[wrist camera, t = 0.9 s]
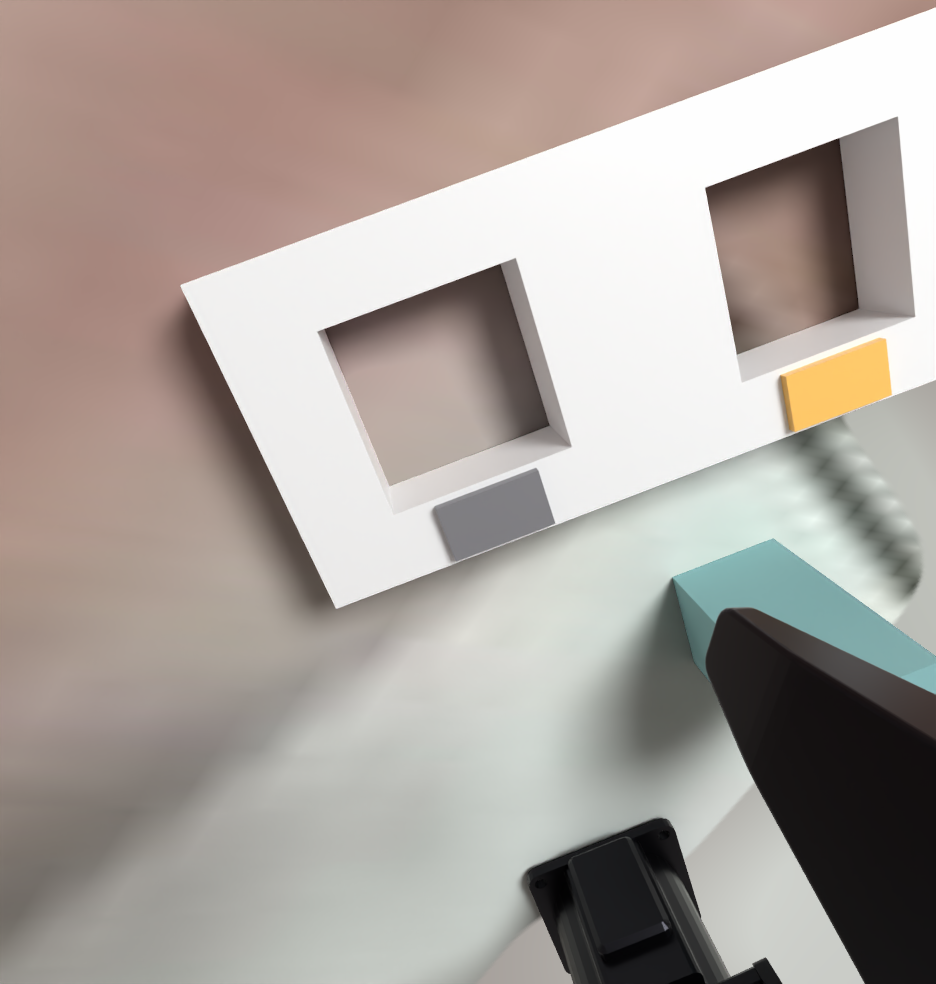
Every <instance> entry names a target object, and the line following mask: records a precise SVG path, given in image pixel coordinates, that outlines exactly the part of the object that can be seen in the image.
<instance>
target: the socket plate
mask: <svg viewBox="0 0 936 984" xmlns="http://www.w3.org/2000/svg"><path fill="white" fill-rule="evenodd" d="M838 138H839V140H840V148H841V157H842V166H843V174H844V183H845V191H846V200H847V208H848V217H849V225H850V234H851V242H852V251H853V260H854V268H855V277H856V285H857V294H858V302H859V309H857V310H854V311H852V312H849V313H846V314H844V315H841V316H839V317H836V318H833V319H831V320H828V321H825V322H823V323H820V324H817V325H815V326H812V327H809V328H807V329H804V330H802V331H799V332H796V333H794V334H791V335H788V336H786V337H783V338H780V339H778V340H775V341H772V342H770V343H767V344H765V345H762V346H759V347H757V348H754V349H751V350H749V351H746V352H743V353H741V354H738V355H736V349H735V344H734V339H733V334H732V328H731V323H730V318H729V312H728V307H727V302H726V296H725V291H724V286H723V281H722V275H721V270H720V265H719V259H718V254H717V249H716V243H715V238H714V233H713V228H712V222H711V217H710V212H709V206H708V201H707V196H706V191H705V187H708V186H711V185H714V184H716V183H719V182H722V181H724V180H727V179H730V178H732V177H735V176H738V175H741V174H743V173H746V172H749V171H751V170H754V169H757V168H759V167H762V166H765V165H767V164H770V163H773V162H776V161H778V160H781V159H784V158H786V157H789V156H792V155H794V154H797V153H800V152H803V151H805V150H808V149H811V148H813V147H816V146H819V145H821V144H824V143H827V142H829V141H832V140H835V139H838ZM498 264H501V268H502V271H503V274H504V278H505V281H506V284H507V287H508V291H509V294H510V297H511V300H512V304H513V307H514V310H515V314H516V317H517V320H518V323H519V327H520V330H521V333H522V336H523V340H524V343H525V346H526V350H527V353H528V356H529V359H530V363H531V366H532V369H533V372H534V376H535V379H536V382H537V386H538V389H539V392H540V395H541V399H542V402H543V405H544V408H545V412H546V415H547V418H548V422H549V425H550V426H548V427H545V428H542V429H540V430H537V431H534V432H532V433H529V434H527V435H524V436H521V437H519V438H516V439H513V440H511V441H508V442H505V443H503V444H500V445H497V446H495V447H492V448H489V449H487V450H484V451H482V452H479V453H476V454H474V455H471V456H468V457H466V458H463V459H460V460H458V461H455V462H452V463H450V464H447V465H445V466H442V467H439V468H437V469H434V470H431V471H429V472H426V473H423V474H421V475H418V476H415V477H413V478H410V479H408V480H405V481H402V482H400V483H397V484H394V485H392V486H389V485H388V482H387V480H386V477H385V475H384V472H383V470H382V468H381V465H380V463H379V460H378V458H377V456H376V453H375V451H374V448H373V446H372V444H371V441H370V439H369V436H368V434H367V431H366V429H365V427H364V424H363V422H362V419H361V417H360V415H359V412H358V410H357V407H356V405H355V402H354V400H353V398H352V395H351V393H350V390H349V388H348V386H347V383H346V381H345V378H344V376H343V373H342V371H341V369H340V366H339V364H338V361H337V359H336V357H335V354H334V352H333V349H332V347H331V344H330V342H329V340H328V337H327V335H326V332H325V330H324V329H325V328H328V327H331V326H334V325H336V324H339V323H342V322H344V321H347V320H350V319H352V318H355V317H358V316H360V315H363V314H366V313H369V312H371V311H374V310H377V309H379V308H382V307H385V306H387V305H390V304H393V303H396V302H398V301H401V300H404V299H406V298H409V297H412V296H414V295H417V294H420V293H422V292H425V291H428V290H431V289H433V288H436V287H439V286H441V285H444V284H447V283H449V282H452V281H455V280H458V279H460V278H463V277H466V276H468V275H471V274H474V273H476V272H479V271H482V270H484V269H487V268H490V267H493V266H495V265H498ZM180 286H181V288H182V290H183V292H184V294H185V296H186V298H187V301H188V303H189V305H190V307H191V309H192V311H193V313H194V315H195V317H196V319H197V321H198V323H199V325H200V328H201V330H202V332H203V334H204V336H205V338H206V340H207V342H208V344H209V346H210V348H211V350H212V352H213V354H214V357H215V359H216V361H217V363H218V365H219V367H220V369H221V371H222V373H223V375H224V377H225V379H226V381H227V384H228V386H229V388H230V390H231V392H232V394H233V396H234V398H235V400H236V402H237V404H238V406H239V408H240V411H241V413H242V415H243V417H244V419H245V421H246V423H247V425H248V427H249V429H250V431H251V433H252V435H253V437H254V440H255V442H256V444H257V446H258V448H259V450H260V452H261V454H262V456H263V458H264V460H265V462H266V464H267V467H268V469H269V471H270V473H271V475H272V477H273V479H274V481H275V483H276V485H277V487H278V489H279V491H280V493H281V496H282V498H283V500H284V502H285V504H286V506H287V508H288V510H289V512H290V514H291V516H292V518H293V520H294V523H295V525H296V527H297V529H298V531H299V533H300V535H301V537H302V539H303V541H304V543H305V545H306V547H307V550H308V552H309V554H310V556H311V558H312V560H313V562H314V564H315V566H316V568H317V570H318V572H319V574H320V576H321V579H322V581H323V583H324V585H325V587H326V589H327V591H328V593H329V595H330V597H331V599H332V601H333V603H334V606H335V608H336V609H338V608H340V607H343V606H345V605H348V604H351V603H353V602H356V601H358V600H361V599H364V598H366V597H369V596H372V595H374V594H377V593H379V592H382V591H385V590H387V589H390V588H392V587H395V586H398V585H400V584H403V583H406V582H408V581H411V580H413V579H416V578H419V577H421V576H424V575H426V574H429V573H432V572H434V571H437V570H440V569H442V568H445V567H447V566H450V565H453V564H455V563H458V562H460V561H463V560H466V559H468V558H471V557H474V556H476V555H479V554H481V553H484V552H487V551H489V550H492V549H494V548H497V547H500V546H502V545H505V544H508V543H510V542H513V541H515V540H518V539H521V538H523V537H526V536H529V535H531V534H534V533H536V532H539V531H542V530H544V529H547V528H549V527H552V526H555V525H557V524H560V523H563V522H565V521H568V520H570V519H573V518H576V517H578V516H581V515H583V514H586V513H589V512H591V511H594V510H597V509H599V508H602V507H604V506H607V505H610V504H612V503H615V502H617V501H620V500H623V499H625V498H628V497H631V496H633V495H636V494H638V493H641V492H644V491H646V490H649V489H651V488H654V487H657V486H659V485H662V484H665V483H667V482H670V481H672V480H675V479H678V478H680V477H683V476H685V475H688V474H691V473H693V472H696V471H699V470H701V469H704V468H706V467H709V466H712V465H714V464H717V463H720V462H722V461H725V460H727V459H730V458H733V457H735V456H738V455H740V454H743V453H746V452H748V451H751V450H754V449H756V448H759V447H761V446H764V445H767V444H769V443H772V442H774V441H777V440H780V439H782V438H785V437H788V436H790V435H793V434H795V433H798V432H801V431H803V430H806V429H808V428H811V427H814V426H816V425H819V424H822V423H824V422H827V421H829V420H832V419H835V418H837V417H840V416H842V415H845V414H848V413H850V412H853V411H856V410H858V409H861V408H863V407H866V406H869V405H871V404H874V403H876V402H879V401H882V400H884V399H887V398H889V397H892V396H894V395H897V394H900V393H903V392H905V391H908V390H910V389H913V388H916V387H918V386H921V385H924V384H926V383H928V382H931V381H934V380H936V8H934V9H931V10H928V11H925V12H923V13H920V14H917V15H915V16H912V17H909V18H906V19H904V20H901V21H898V22H895V23H893V24H890V25H887V26H885V27H882V28H879V29H876V30H874V31H871V32H868V33H866V34H863V35H860V36H857V37H855V38H852V39H849V40H846V41H844V42H841V43H838V44H836V45H833V46H830V47H827V48H825V49H822V50H819V51H816V52H814V53H811V54H808V55H806V56H803V57H800V58H797V59H795V60H792V61H789V62H787V63H784V64H781V65H778V66H776V67H773V68H770V69H767V70H765V71H762V72H759V73H757V74H754V75H751V76H748V77H746V78H743V79H740V80H738V81H735V82H732V83H729V84H727V85H724V86H721V87H718V88H716V89H713V90H710V91H708V92H705V93H702V94H699V95H697V96H694V97H691V98H688V99H686V100H683V101H680V102H678V103H675V104H672V105H669V106H667V107H664V108H661V109H659V110H656V111H653V112H650V113H648V114H645V115H642V116H639V117H637V118H634V119H631V120H629V121H626V122H623V123H620V124H618V125H615V126H612V127H610V128H607V129H604V130H601V131H599V132H596V133H593V134H590V135H588V136H585V137H582V138H580V139H577V140H574V141H571V142H569V143H566V144H563V145H561V146H558V147H555V148H552V149H550V150H547V151H544V152H541V153H539V154H536V155H533V156H531V157H528V158H525V159H522V160H520V161H517V162H514V163H511V164H509V165H506V166H503V167H501V168H498V169H495V170H492V171H490V172H487V173H484V174H482V175H479V176H476V177H473V178H471V179H468V180H465V181H462V182H460V183H457V184H454V185H452V186H449V187H446V188H443V189H441V190H438V191H435V192H433V193H430V194H427V195H424V196H422V197H419V198H416V199H413V200H411V201H408V202H405V203H403V204H400V205H397V206H394V207H392V208H389V209H386V210H383V211H381V212H378V213H375V214H373V215H370V216H367V217H364V218H362V219H359V220H356V221H354V222H351V223H348V224H345V225H343V226H340V227H337V228H334V229H332V230H329V231H326V232H324V233H321V234H318V235H315V236H313V237H310V238H307V239H305V240H302V241H299V242H296V243H294V244H291V245H288V246H285V247H283V248H280V249H277V250H275V251H272V252H269V253H266V254H264V255H261V256H258V257H256V258H253V259H250V260H247V261H245V262H242V263H239V264H236V265H234V266H231V267H228V268H226V269H223V270H220V271H217V272H215V273H212V274H209V275H206V276H204V277H201V278H198V279H196V280H193V281H190V282H187V283H185V284H182V285H180Z"/></svg>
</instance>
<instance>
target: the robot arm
mask: <svg viewBox="0 0 936 984" xmlns="http://www.w3.org/2000/svg"><path fill="white" fill-rule="evenodd" d="M705 667H706V672H707V675H708V677H709V680H710V682H711V684H712V687H713V689H714V692H715V694H716V696H717V699H718V701H719V703H720V706H721V708H722V710H723V713H724V715H725V717H726V720H727V722H728V724H729V727H730V729H731V731H732V734H733V736H734V738H735V741H736V743H737V745H738V748H739V750H740V752H741V755H742V757H743V759H744V761H745V763H746V766H747V768H748V770H749V772H750V774H751V776H752V778H753V780H754V782H755V784H756V786H757V788H758V789H759V791H760V793H761V795H762V797H763V799H764V800H765V802H766V804H767V806H768V808H769V810H770V811H771V813H772V815H773V817H774V819H775V820H776V822H777V824H778V826H779V828H780V829H781V831H782V833H783V835H784V837H785V839H786V840H787V842H788V844H789V846H790V848H791V850H792V851H793V853H794V855H795V857H796V859H797V860H798V862H799V864H800V866H801V868H802V870H803V872H804V873H805V875H806V877H807V879H808V881H809V883H810V884H811V886H812V888H813V890H814V891H815V893H816V895H817V897H818V899H819V901H820V903H821V904H822V906H823V908H824V910H825V912H826V914H827V915H828V917H829V919H830V921H831V923H832V924H833V926H834V928H835V930H836V932H837V934H838V935H839V937H840V939H841V941H842V943H843V944H844V946H845V948H846V950H847V952H848V954H849V956H850V957H851V959H852V961H853V963H854V965H855V966H856V968H857V970H858V972H859V974H860V976H861V977H862V979H863V981H864V983H865V984H936V694H934V693H932V692H929V691H927V690H925V689H923V688H921V687H919V686H917V685H915V684H913V683H911V682H908V681H906V680H904V679H902V678H900V677H898V676H896V675H894V674H892V673H890V672H887V671H885V670H883V669H881V668H879V667H877V666H875V665H873V664H871V663H869V662H867V661H864V660H862V659H860V658H858V657H856V656H854V655H852V654H850V653H848V652H846V651H843V650H841V649H839V648H837V647H835V646H833V645H831V644H829V643H827V642H825V641H822V640H820V639H818V638H816V637H814V636H812V635H810V634H808V633H806V632H804V631H801V630H799V629H797V628H795V627H793V626H791V625H789V624H787V623H785V622H783V621H781V620H778V619H776V618H774V617H772V616H770V615H768V614H766V613H764V612H762V611H760V610H757V609H755V608H751V607H731V608H725V609H723V610H722V611H721V612H720V613H719V615H718V617H717V620H716V624H715V627H714V630H713V633H712V636H711V640H710V643H709V646H708V649H707V652H706V657H705ZM527 881H528V884H529V888H530V890H531V893H532V895H533V897H534V900H535V902H536V904H537V907H538V909H539V911H540V913H541V916H542V918H543V920H544V923H545V925H546V927H547V930H548V932H549V934H550V936H551V939H552V941H553V943H554V946H555V948H556V950H557V953H558V955H559V957H560V959H561V962H562V964H563V966H564V969H565V970H566V972H567V973H569V974H571V977H572V980H573V984H782V982H781V981H780V979H779V977H778V976H777V974H776V973H775V971H774V970H773V968H772V966H771V965H770V963H769V962H768V960H767V958H764V959H761V960H759V961H757V962H755V963H753V967H751V968H749V969H747V970H745V971H743V972H740V973H738V974H736V975H734V976H732V977H730V975H729V973H728V971H727V969H726V967H725V965H724V963H723V961H722V959H721V957H720V955H719V953H718V951H717V949H716V947H715V945H714V944H713V942H712V939H711V938H710V935H709V934H708V932H707V930H706V928H705V926H704V924H703V922H702V920H701V914H700V911H699V908H698V905H697V901H696V898H695V895H694V891H693V888H692V885H691V882H690V879H689V875H688V872H687V869H686V865H685V862H684V859H683V855H682V852H681V849H680V846H679V842H678V839H677V836H676V832H675V830H674V828H673V826H672V824H671V823H670V821H669V820H667V819H663V818H661V819H657V820H655V821H652V822H650V823H647V824H645V825H642V826H640V827H637V828H635V829H632V830H629V831H627V832H624V833H622V834H619V835H617V836H614V837H612V838H609V839H607V840H604V841H602V842H599V843H597V844H594V845H592V846H589V847H586V848H584V849H581V850H579V851H576V852H574V853H571V854H569V855H566V856H564V857H561V858H559V859H556V860H554V861H551V862H549V863H546V864H543V865H541V866H538V867H536V868H534V869H532V870H531V871H530V872H529V873H528V875H527Z"/></svg>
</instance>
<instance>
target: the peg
mask: <svg viewBox="0 0 936 984" xmlns="http://www.w3.org/2000/svg"><path fill="white" fill-rule="evenodd" d="M672 578H673V582H674V586H675V589H676V593H677V597H678V601H679V605H680V609H681V613H682V617H683V621H684V625H685V628H686V632H687V636H688V640H689V644H690V648H691V652H692V656H693V660H694V663H695V664H696V665H697V667H698V668H699V669H700V670H701V672H702V673H703V674H704V675H705V677H706V678H707V679H708V680H709V677H708V675H707V672H706V667H705V657H706V652H707V649H708V646H709V643H710V640H711V636H712V633H713V630H714V627H715V624H716V620H717V617H718V615H719V613H720V612H721V611H722V610H723V609H725V608H731V607H751V608H755V609H757V610H760V611H762V612H764V613H766V614H768V615H770V616H772V617H774V618H776V619H778V620H781V621H783V622H785V623H787V624H789V625H791V626H793V627H795V628H797V629H799V630H801V631H804V632H806V633H808V634H810V635H812V636H814V637H816V638H818V639H820V640H822V641H825V642H827V643H829V644H831V645H833V646H835V647H837V648H839V649H841V650H843V651H846V652H848V653H850V654H852V655H854V656H856V657H858V658H860V659H862V660H864V661H867V662H869V663H871V664H873V665H875V666H877V667H879V668H881V669H883V670H885V671H887V672H890V673H892V674H894V675H896V676H898V677H900V678H902V679H904V680H906V681H908V682H911V683H913V684H915V685H917V686H919V687H921V688H923V689H925V690H927V691H929V692H932V693H934V694H936V656H935V655H933V654H932V653H931V652H929V651H928V650H927V649H925V648H924V647H922V646H921V645H920V644H918V643H917V642H915V641H914V640H913V639H911V638H910V637H909V636H907V635H906V634H904V633H903V632H902V631H900V630H899V629H897V628H896V627H895V626H893V625H892V624H891V623H889V622H888V621H886V620H885V619H884V618H882V617H881V616H880V615H878V614H877V613H875V612H874V611H873V610H871V609H870V608H869V607H867V606H866V605H864V604H863V603H862V602H860V601H859V600H857V599H856V598H855V597H853V596H852V595H851V594H849V593H848V592H846V591H845V590H844V589H842V588H841V587H840V586H838V585H837V584H835V583H834V582H833V581H831V580H830V579H828V578H827V577H826V576H824V575H823V574H822V573H820V572H819V571H817V570H816V569H815V568H813V567H812V566H810V565H809V564H808V563H806V562H805V561H804V560H802V559H801V558H799V557H798V556H797V555H795V554H794V553H793V552H791V551H790V550H788V549H787V548H786V547H784V546H783V545H781V544H780V543H779V542H777V541H776V540H775V539H771V540H768V541H765V542H763V543H760V544H758V545H755V546H752V547H750V548H747V549H745V550H742V551H739V552H737V553H734V554H732V555H729V556H726V557H724V558H721V559H719V560H716V561H713V562H711V563H708V564H706V565H703V566H700V567H698V568H695V569H693V570H690V571H687V572H685V573H682V574H680V575H677V576H674V577H672ZM709 682H710V680H709ZM710 683H711V682H710Z"/></svg>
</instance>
